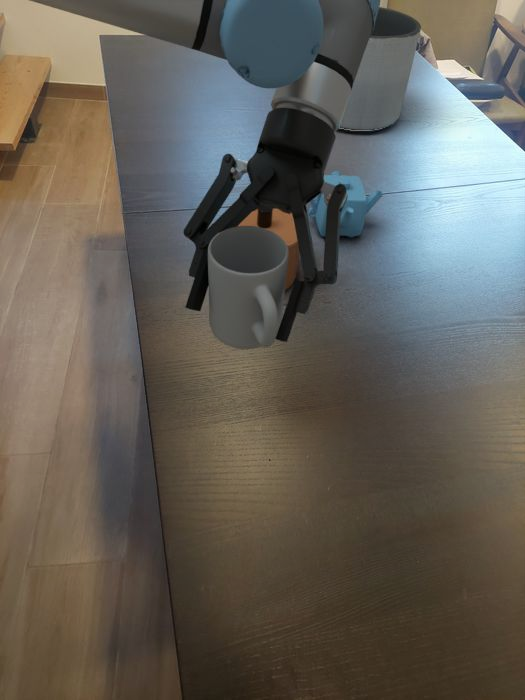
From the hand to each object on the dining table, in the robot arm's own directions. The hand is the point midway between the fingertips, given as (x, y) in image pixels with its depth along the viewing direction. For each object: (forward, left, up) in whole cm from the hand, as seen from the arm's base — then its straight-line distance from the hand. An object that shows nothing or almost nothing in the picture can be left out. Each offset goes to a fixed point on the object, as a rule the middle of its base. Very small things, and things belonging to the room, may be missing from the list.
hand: (236, 324), depth 55 cm
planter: (+5, +103, -19) cm, 105 cm away
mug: (+1, +3, -4) cm, 5 cm away
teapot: (+9, +50, -19) cm, 54 cm away
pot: (-3, +32, -19) cm, 37 cm away
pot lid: (-3, +32, -9) cm, 34 cm away
